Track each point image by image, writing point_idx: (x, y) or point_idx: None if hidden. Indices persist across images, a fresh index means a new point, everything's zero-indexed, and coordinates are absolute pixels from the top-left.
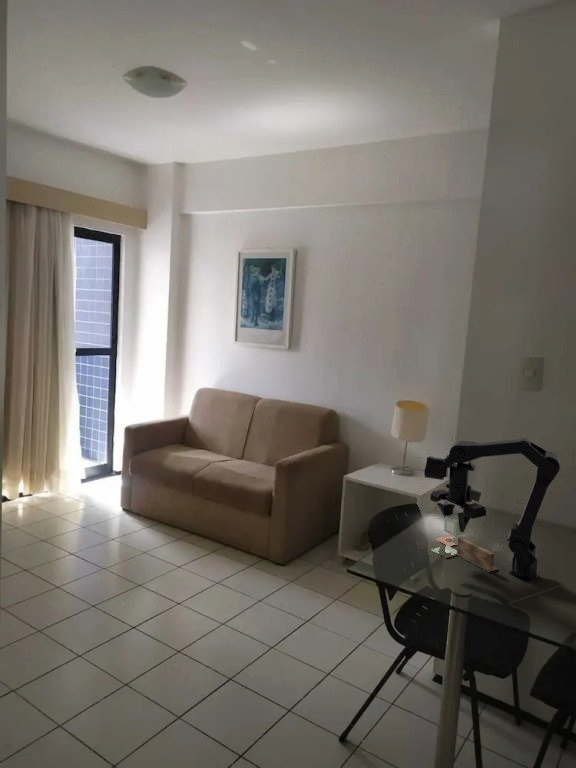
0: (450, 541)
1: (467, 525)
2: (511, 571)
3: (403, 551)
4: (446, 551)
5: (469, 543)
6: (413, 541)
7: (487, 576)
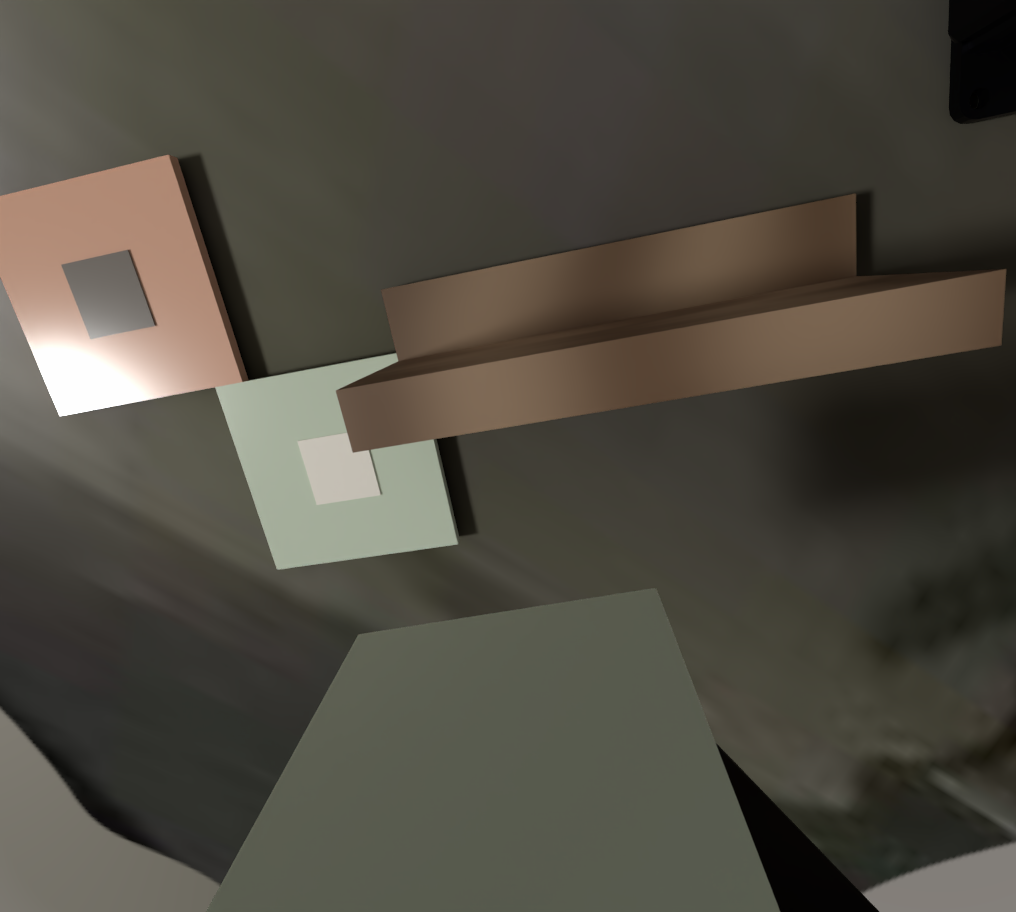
0: (136, 304)
1: (703, 721)
2: (971, 75)
3: (251, 742)
4: (344, 471)
5: (562, 408)
6: (83, 594)
7: (874, 379)
